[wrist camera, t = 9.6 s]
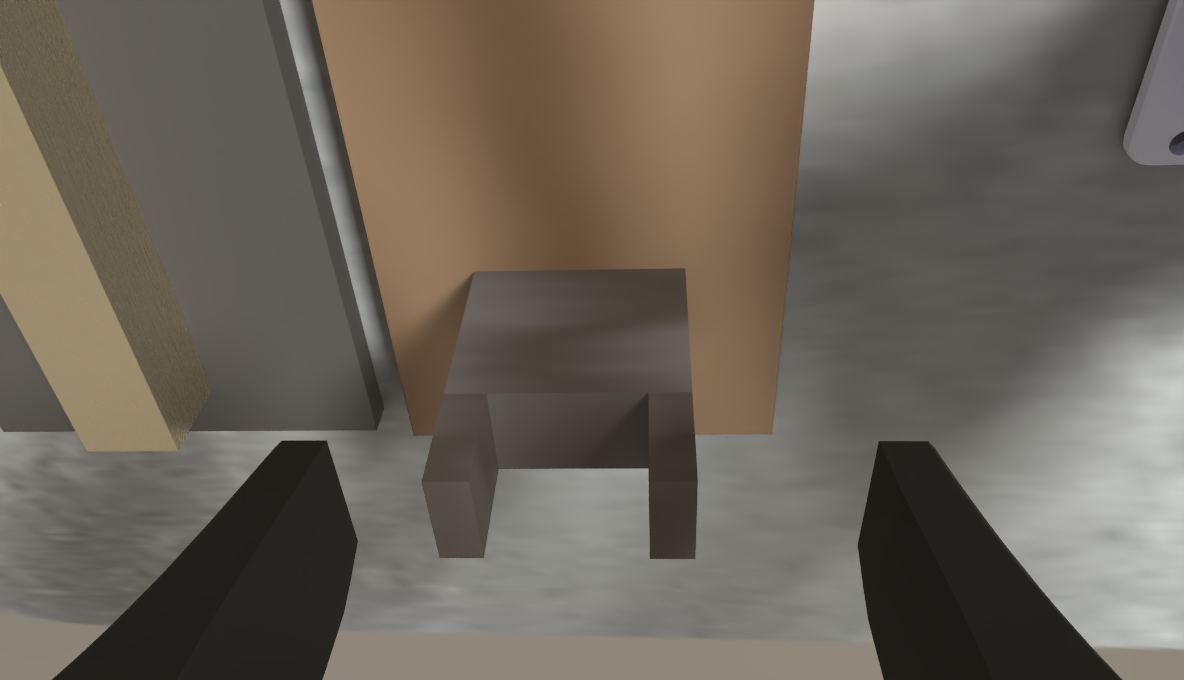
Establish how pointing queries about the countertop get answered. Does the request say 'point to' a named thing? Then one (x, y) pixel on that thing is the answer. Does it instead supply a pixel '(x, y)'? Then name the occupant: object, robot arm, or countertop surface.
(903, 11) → the countertop surface
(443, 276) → the rack
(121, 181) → the rail
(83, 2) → the mat
